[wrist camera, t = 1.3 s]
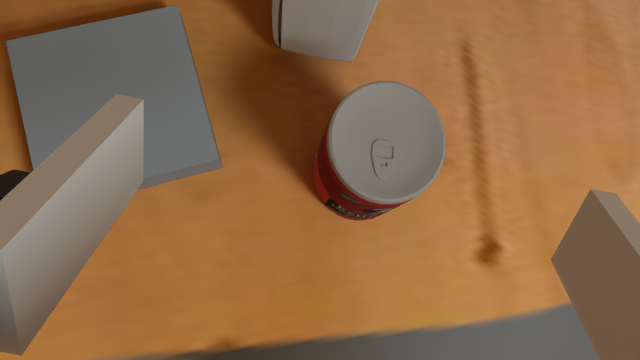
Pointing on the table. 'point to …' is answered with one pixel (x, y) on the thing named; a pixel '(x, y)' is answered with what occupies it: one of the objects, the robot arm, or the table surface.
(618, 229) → the robot arm
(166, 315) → the table surface
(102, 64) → the stand
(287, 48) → the stereo radio cassette player
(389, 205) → the canned food
